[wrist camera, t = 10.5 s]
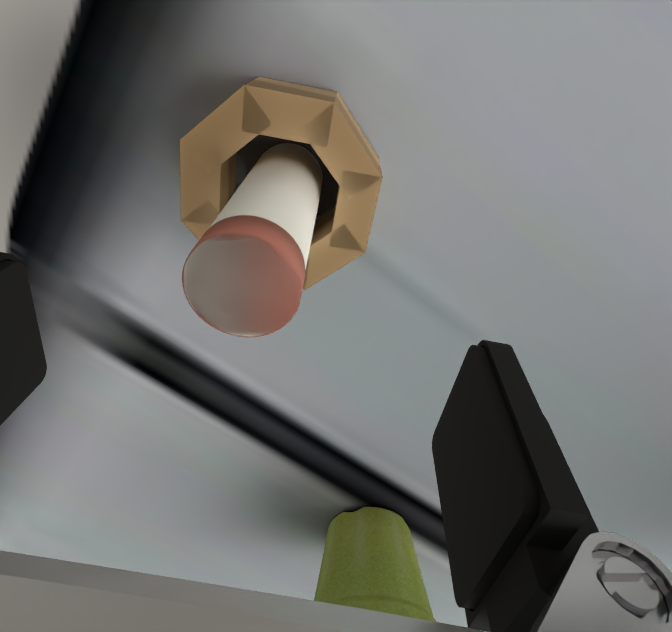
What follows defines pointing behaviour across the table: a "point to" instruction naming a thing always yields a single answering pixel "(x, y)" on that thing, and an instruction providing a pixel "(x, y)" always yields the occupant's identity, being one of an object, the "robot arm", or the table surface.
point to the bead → (297, 125)
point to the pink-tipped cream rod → (258, 247)
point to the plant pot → (372, 565)
